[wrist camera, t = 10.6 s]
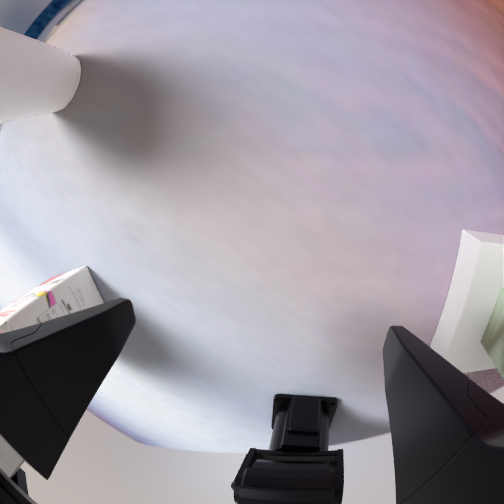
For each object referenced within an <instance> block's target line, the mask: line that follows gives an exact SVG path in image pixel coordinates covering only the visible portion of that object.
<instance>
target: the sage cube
mask: <svg viewBox="0 0 504 504" xmlns="http://www.w3.org/2000/svg"><path fill="white" fill-rule="evenodd" d="M480 342H481V344H482V345H483V347H484V349H485V350H486V352H487V353H488V355H489V357H490V358H491V360H492V361H493V363H494V365H495V366H496V368H497V370H498V372H499V373H500V375H501V377H502V379H503V380H504V288H500V291H499V294H498V297H497V300H496V303H495V306H494V309H493V311H492V314H491V317H490V319H489V322H488V324H487V327H486V329H485V332H484V334H483V336H482V339H481V341H480Z"/></svg>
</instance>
